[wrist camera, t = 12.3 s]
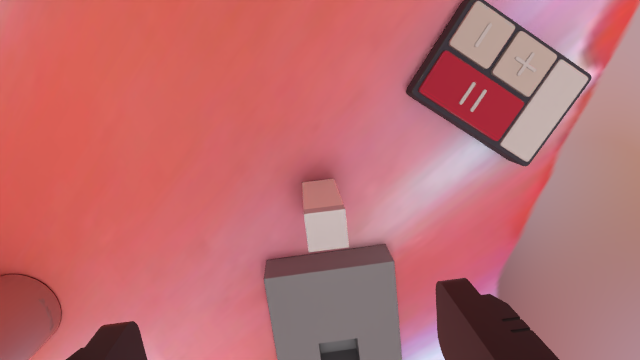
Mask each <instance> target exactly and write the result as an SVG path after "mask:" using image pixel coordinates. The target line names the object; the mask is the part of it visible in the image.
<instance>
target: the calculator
mask: <svg viewBox="0 0 640 360" xmlns="http://www.w3.org/2000/svg"><path fill="white" fill-rule="evenodd" d="M590 80H591V75H590V74H589V73H587V72H586V71H584V70H583V69H582V68H580V67H579V66H577V65H576V64H574V63H573V62H571V61H570V60H569V59H567V58H566V57H564V56H563V55H561V54H560V53H559V52H557V51H556V50H554V49H553V48H551V47H550V46H549V45H547V44H546V43H544V42H543V41H541V40H540V39H539V38H537V37H536V36H534V35H533V34H531V33H530V32H529V31H527V30H526V29H524V28H523V27H521V26H520V25H519V24H517V23H516V22H514V21H513V20H511V19H510V18H509V17H507V16H506V15H504V14H503V13H501V12H500V11H499V10H497V9H496V8H494V7H493V6H491V5H490V4H489V3H487V2H486V1H484V0H464V1H463V2H462V3H461V5H460V6H459V8H458V9H457V11H456V12H455V14H454V15H453V17H452V19H451V20H450V22H449V23H448V25H447V26H446V28H445V30H444V31H443V33H442V34H441V36H440V37H439V39H438V41H437V42H436V44H435V45H434V47H433V48H432V50H431V52H430V53H429V55H428V56H427V58H426V59H425V61H424V63H423V64H422V66H421V67H420V69H419V70H418V72H417V74H416V75H415V77H414V78H413V80H412V81H411V83H410V85H409V86H408V88H407V90H406V93H407V94H408V95H409V96H410V97H412V98H413V99H415V100H417V101H418V102H420V103H421V104H423V105H424V106H426V107H427V108H429V109H430V110H432V111H434V112H435V113H437V114H438V115H440V116H441V117H443V118H444V119H446V120H448V121H449V122H451V123H452V124H454V125H455V126H457V127H458V128H460V129H462V130H463V131H465V132H466V133H468V134H469V135H471V136H473V137H474V138H476V139H477V140H479V141H480V142H482V143H483V144H484V145H486V146H487V147H489V148H491V149H492V150H494V151H495V152H497V153H498V154H500V155H501V156H503V157H504V158H506V159H508V160H509V161H512V162H514V163H517V164H520V165H522V166H528V165H529V164H530V163H531V161H532V160H533V158H534V157H535V156H536V154H537V153H538V152H539V150H540V149H541V148H542V146H543V145H544V143H545V142H546V141H547V139H548V138H549V137H550V135H551V134H552V132H553V131H554V130H555V128H556V127H557V126H558V124H559V123H560V122H561V120H562V119H563V117H564V116H565V115H566V113H567V112H568V111H569V109H570V108H571V107H572V105H573V104H574V102H575V101H576V100H577V98H578V97H579V96H580V94H581V93H582V91H583V90H584V89H585V87H586V86H587V85H588V83H589V82H590Z"/></svg>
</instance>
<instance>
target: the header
mask: <svg viewBox="0 0 640 360" xmlns="http://www.w3.org/2000/svg"><path fill="white" fill-rule="evenodd" d="M264 283H265V289H266V295H267V301H268V307H269V312H270V318H271V324H272V330H273V336H274V341H275V347H276V353H277V359H278V360H402V355H401V342H400V329H399V316H398V304H397V291H396V278H395V265H394V260H393V258H392V256H391V254H390V252H389V250H388V249H387V247H386V245H385V244H383V245H375V246H368V247H360V248H353V249H346V250H338V251H331V252H323V253H316V254H309V255H301V256H294V257H287V258H279V259H272V260H267V261H266V268H265V274H264Z"/></svg>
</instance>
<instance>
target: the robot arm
mask: <svg viewBox="0 0 640 360" xmlns="http://www.w3.org/2000/svg"><path fill="white" fill-rule="evenodd" d="M436 308H437V331H438V339H439V344H440V347H441V351H442V354H443V356H444V358H445V360H559V359H558V358H557V357H556V356H555V354H554V353H553V352H552V351H551V350H550V349H549V348H548V347H547V346H546V345H545V344H544V343H543V341H542V340H541V339H540V338H539V337H538V336H537V335H536V334H535V333H534V332H533V331H531V330H530V328H529V326H528V325H527V324H526V323H525V322H524V321H523V320H522V319H521V320H520V317H519V316H518V314H517V313H516V312H515V311H514V310H513V309H512V308H511V307H510V306H509V305H508V304H507V303H505V302H503V301H502V300H500V299H498V298H496V297H494V296H493V295H491V294H486V295H480V294H479V292H478V291H477V290H476V289H475V288H474V286H473V285H472V284H471V283H470V282H469V281H468V280H467V279H466V278H460V279H453V280H445V281H438V282H437V284H436ZM60 321H61V309H60V305H59V302H58V300H57V298H56V297H55V295H54V294H53V292H52V291H51V290H50V289H49V288H48V287H47V286H45V285H44V284H43V283H41V282H39V281H38V280H36V279H33V278H31V277H28V276H23V275H14V274H10V275H3V276H0V360H29V359H30V358H31V357H32V356H33V355H34V354H35V353H36V352H37V351H38V350H39V349H40V348H41V347H42V346H43V345H44V343H45V342H46V341H47V340H48V339H49V338H50V337H51V336H52V335H53V334H54V333H55V331H56V330H57V328H58V327H59V324H60ZM66 360H147V357H146V353H145V349H144V346H143V342H142V338H141V334H140V330H139V327H138V325H137V324H136V323H135V322H134V321H131V322H123V323H116V324H108V325H103V326H102V327H100V329H99V330H98V331H97V332H96V334H95V335H94V336H93V338H92V339H91V340H90V341H89V343H88V344H87V345H86V347H85V348H80V349H79V350H78V351H77V352H75V353H74V354H73V355H71V356H70V357H69V358H67V359H66Z"/></svg>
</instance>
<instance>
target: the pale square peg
mask: <svg viewBox="0 0 640 360" xmlns="http://www.w3.org/2000/svg"><path fill="white" fill-rule="evenodd" d="M302 192H303V209H304V219H305V227H306V235H307V243H308V251H309V252H315V251H323V250H331V249H339V248H347V247H349V242H348V232H347V222H346V212H345V207H344V204H343V202H342V199H341V196H340V194H339V191H338V188H337V185H336V183H335V180H334V179H326V180H318V181H309V182H302Z"/></svg>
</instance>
